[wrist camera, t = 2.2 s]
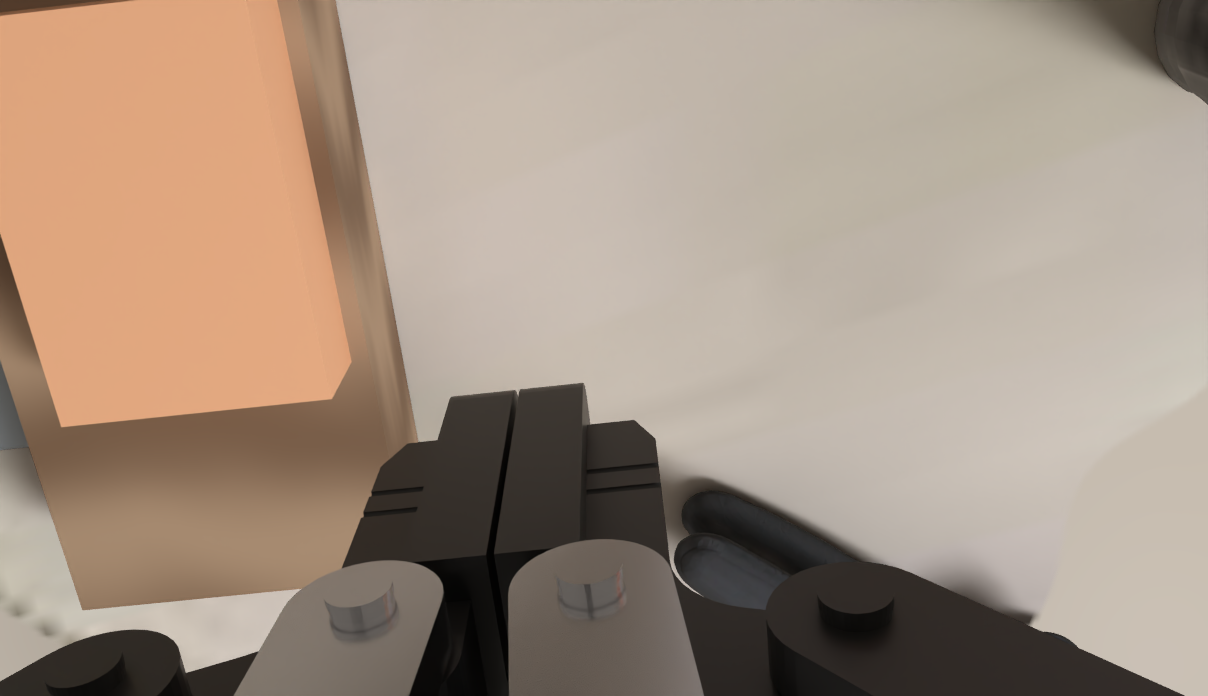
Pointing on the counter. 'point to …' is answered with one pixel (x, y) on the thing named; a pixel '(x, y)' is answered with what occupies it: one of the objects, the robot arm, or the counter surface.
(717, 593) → the can opener
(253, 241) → the terracotta tile
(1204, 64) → the beverage cup
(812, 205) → the counter surface
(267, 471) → the panel
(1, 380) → the slate mat
